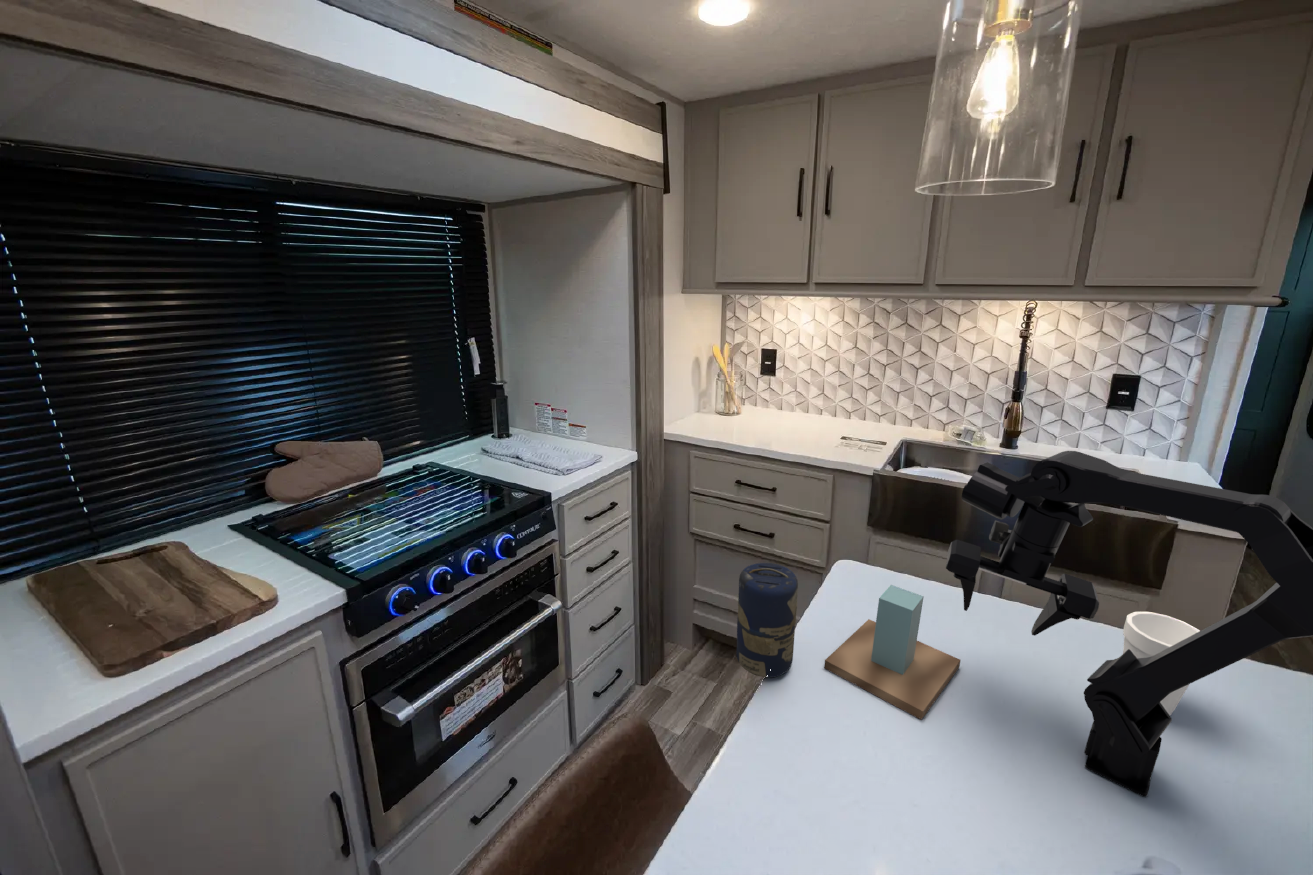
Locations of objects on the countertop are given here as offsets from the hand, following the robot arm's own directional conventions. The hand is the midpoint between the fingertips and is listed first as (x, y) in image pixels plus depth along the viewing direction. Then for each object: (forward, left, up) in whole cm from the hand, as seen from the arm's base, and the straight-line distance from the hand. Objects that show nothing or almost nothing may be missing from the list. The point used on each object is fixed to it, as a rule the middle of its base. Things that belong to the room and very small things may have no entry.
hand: (998, 621), depth 86 cm
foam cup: (-18, -15, -13) cm, 27 cm away
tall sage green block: (+13, +5, -11) cm, 18 cm away
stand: (+13, +5, -13) cm, 19 cm away
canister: (+29, +19, -13) cm, 37 cm away
